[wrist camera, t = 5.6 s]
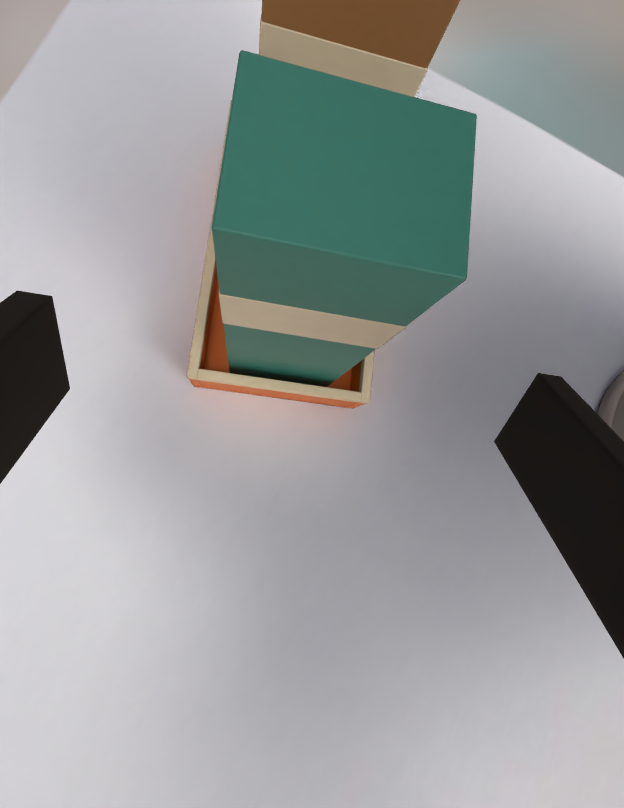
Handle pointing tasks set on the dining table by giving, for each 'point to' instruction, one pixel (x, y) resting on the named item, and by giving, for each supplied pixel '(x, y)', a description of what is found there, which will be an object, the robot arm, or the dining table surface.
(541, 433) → the robot arm
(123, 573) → the dining table surface
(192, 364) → the orange tray
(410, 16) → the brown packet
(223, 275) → the teal packet
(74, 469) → the dining table surface
